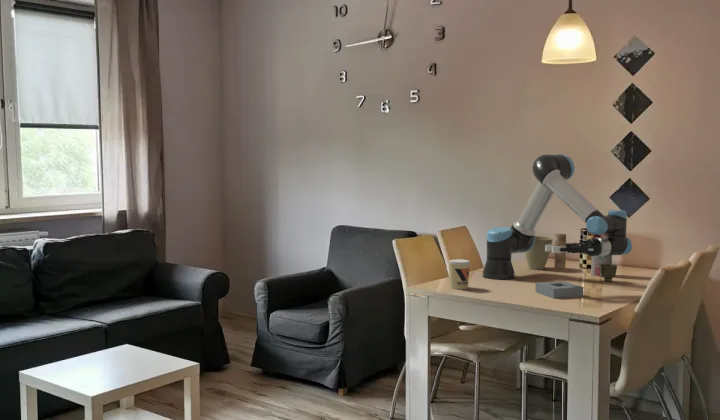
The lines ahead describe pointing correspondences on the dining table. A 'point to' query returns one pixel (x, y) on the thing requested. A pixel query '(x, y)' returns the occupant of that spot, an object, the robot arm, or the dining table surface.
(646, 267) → the dining table surface
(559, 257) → the walnut peg
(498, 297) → the dining table surface
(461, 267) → the coffee cup
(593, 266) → the juice carton
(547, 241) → the plant pot
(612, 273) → the cup
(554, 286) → the socket block
